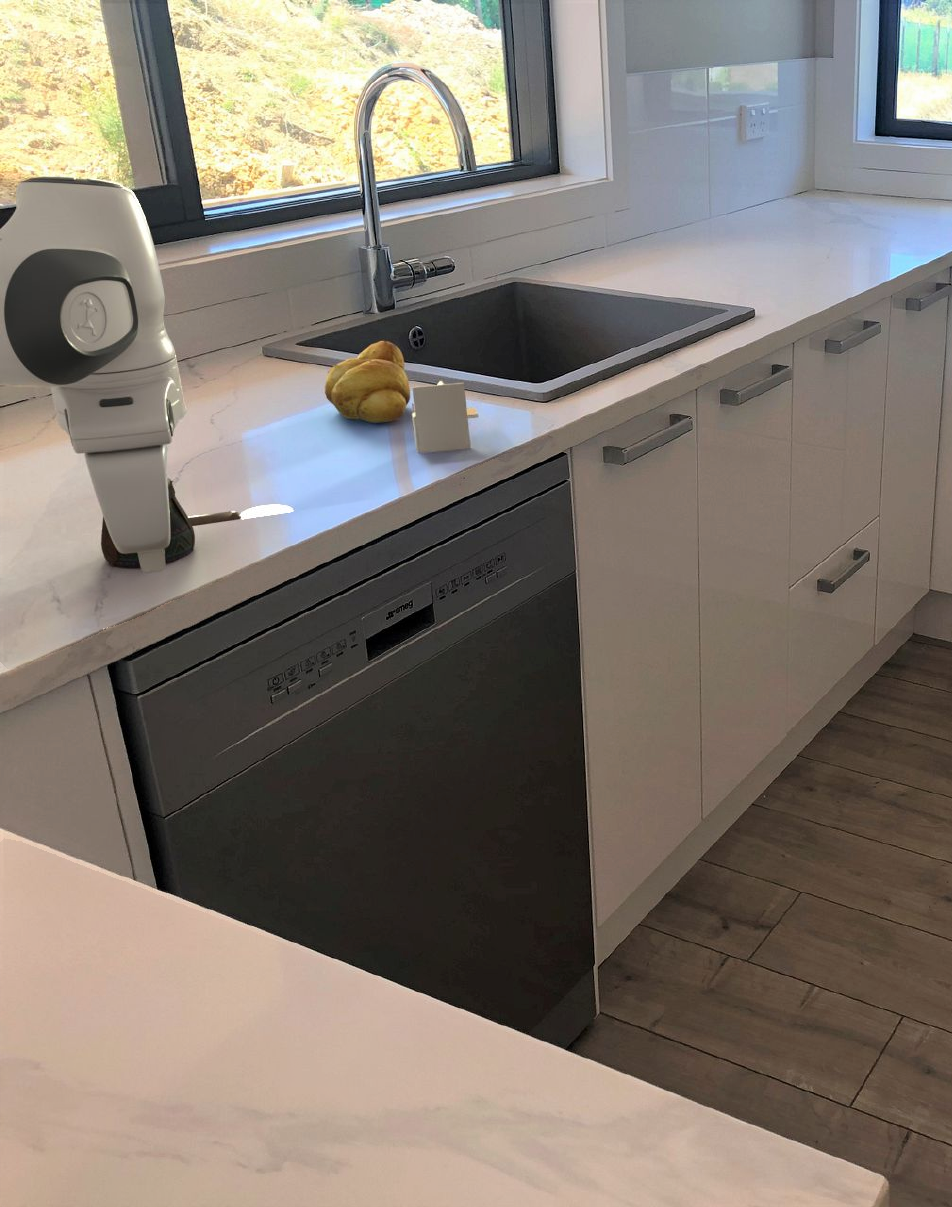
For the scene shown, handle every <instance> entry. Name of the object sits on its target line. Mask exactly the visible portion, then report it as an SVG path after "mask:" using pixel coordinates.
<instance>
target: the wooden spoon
mask: <svg viewBox="0 0 952 1207" xmlns="http://www.w3.org/2000/svg"><path fill="white" fill-rule="evenodd" d="M292 512H294V508H292V507H291V506H288V505H284V504H283V505H282V504H266V505H259V506H255V507H251V508H248V509H245V510H244V511H242V512H241V513H239V512H238V511H235V510H230V511H223V512H222V511H221V512H214V513H206V514H199V515H198V514H197V515H189V516H187V517H188V518H189V520H190V522H191V525H192V527H197V526H198V527H199V526H205V525H211V524H218V523H224V522H231V521H237V520H246V519H252V518H258V517H264V516H265V517H266V516H272V515H279V514H280V515H281V514H287V513H292Z"/></svg>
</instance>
